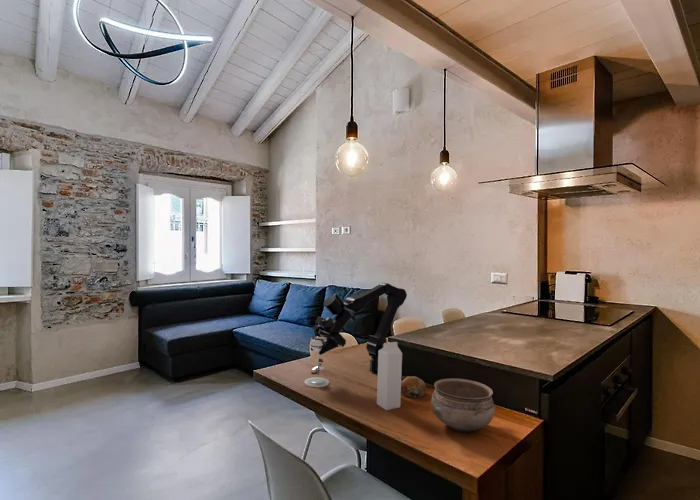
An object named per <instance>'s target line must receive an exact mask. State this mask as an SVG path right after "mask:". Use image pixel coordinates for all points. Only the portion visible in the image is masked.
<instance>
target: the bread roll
mask: <svg viewBox="0 0 700 500" xmlns="http://www.w3.org/2000/svg"><path fill="white" fill-rule="evenodd" d="M426 394H427V385H426V383H425V381H424V380H423V379H421V378H419V377H417V376H415V375H413V376H408V375H407V376H406V377H405V378H404V379H403V380H401V395H402V396H404V397H407V398H413V399H417V398H422V397H424V396H425V395H426Z"/></svg>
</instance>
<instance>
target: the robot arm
mask: <svg viewBox="0 0 700 500" xmlns="http://www.w3.org/2000/svg"><path fill="white" fill-rule="evenodd" d="M383 295H386V301H387V304H386V307H385V310H384V312H383V315H382V318H381V320H380V322H379V324H378V327H377V329H376V332H375V334H373V335H369V336H368V339H367V342H366V348H365V349H366V351H367V353H368V356H369V357H371V359H370V360H369V371H370V372H372V373H373V374H374V375H375V374H377V375H378V351H379V350H380V349H382V348H383V344H384V343H388V342H387V337H388V334H389V331H390V329H391V326H392V324H393V322H394V318H395V316H396V315H397V314H396V313H397V311H398V310H399V308H400V307H401V306H403V304H404V302H405V301H406V299H407V298H408V297H407V296H408V295H407V292H406V289H404V288H399V287H397V286H394V285H392V284H390V283H387V282H380V283H379V284H378V285H376V286H374V287H372V288H370V289H368V290H366V291H364V292H363V293H361V294H356V295H355V294H354V295H352V296H348V297H346V298H345V299H344V300H342V299H341V298H340V297H339V295H338V294H337V293H333V295H331V296H329V297H327V298H325V300H324V302H323V306H324V307H325V308H326V309H327V310H328V311H329V313H330V314H331V315H332V316H334V315H335V316H334V317H333V318H331V317H326V318H325V317H322V316H319V315H318V316H317V318H316V320H315V324H316V325H313V327H312V328H311V330H312V331H313V333H314V337H315V336H322V337H326V342H325V344H324V345H323V347H322V348H321V350H320V352H319V356H321V355H323V354H325V353H327V352H330V351H331V350H333V349H337V348H339V347H342V348H344V346H345V345H346V344H347V340H346V338H344V337H343V335H342V334H341V332H344V331H345V330H346V329H345V326H346V325H347V324H348V323H349V321H353V322H356V315H355V314H354V313H359V312H361V311H362V310H363V309H364V308H365V307H366V305H367V304H369V302H371V301H373V300H375V299H377V298H379V297H380V296H383ZM351 312H353V313H351ZM310 351H314V350H313V349H312V348H311V347H310Z"/></svg>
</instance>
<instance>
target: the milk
mask: <svg viewBox="0 0 700 500" xmlns="http://www.w3.org/2000/svg"><path fill="white" fill-rule="evenodd" d="M402 365H403V352H402V351H401V349H400V348H399V346H398V342H397V341H393V342H387V343H384V344H383V348H382V349H380V350H379V351H378V373H377V385H376V386H377V387H376V405H378V406H379V407H380V408H382V409H384V410H385V411H390V410H393V409H398V408H401V395H402V394H401V382H402V372H403V371H402V370H403V369H402V368H403V367H402Z"/></svg>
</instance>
